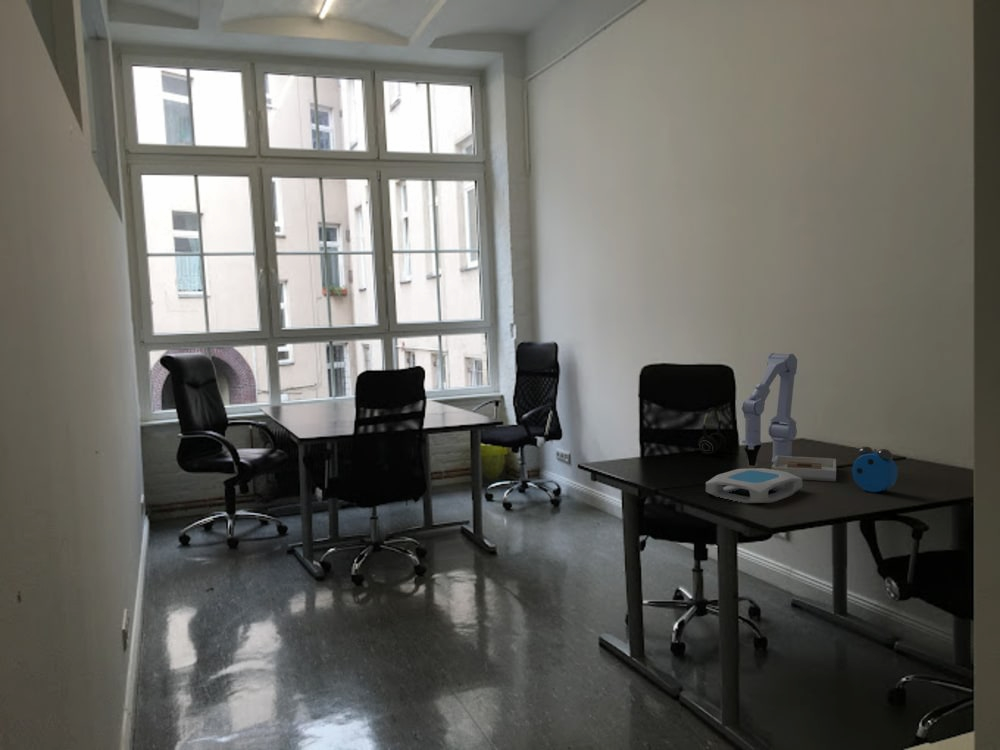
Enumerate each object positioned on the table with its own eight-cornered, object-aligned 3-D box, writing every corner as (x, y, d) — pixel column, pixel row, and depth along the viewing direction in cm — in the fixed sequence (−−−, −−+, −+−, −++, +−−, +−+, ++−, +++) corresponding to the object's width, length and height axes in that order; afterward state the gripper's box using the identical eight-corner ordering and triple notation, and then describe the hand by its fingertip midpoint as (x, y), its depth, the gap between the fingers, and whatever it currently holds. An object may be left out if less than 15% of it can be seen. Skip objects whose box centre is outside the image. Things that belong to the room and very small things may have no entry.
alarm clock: (897, 493, 266) (899, 449, 264) (889, 496, 262) (890, 451, 260) (860, 486, 276) (861, 444, 275) (851, 489, 272) (851, 446, 271)
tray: (775, 465, 312) (775, 455, 312) (835, 468, 304) (835, 458, 303) (771, 477, 292) (771, 466, 292) (835, 481, 284) (836, 470, 283)
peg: (748, 467, 310) (748, 449, 310) (757, 467, 309) (757, 450, 308) (747, 469, 307) (747, 451, 306) (757, 469, 306) (757, 452, 305)
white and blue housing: (803, 491, 271) (803, 474, 271) (760, 507, 253) (760, 488, 252) (748, 482, 287) (748, 465, 286) (704, 496, 269) (704, 478, 268)
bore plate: (788, 466, 306) (788, 461, 306) (821, 468, 301) (821, 463, 301) (786, 472, 295) (786, 467, 295) (821, 474, 290) (821, 469, 290)
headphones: (694, 455, 337) (694, 408, 335) (711, 449, 348) (711, 404, 346) (713, 457, 331) (713, 410, 329) (729, 451, 342) (729, 406, 340)
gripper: (744, 426, 315) (743, 460, 316) (740, 432, 302) (740, 467, 303) (762, 427, 312) (762, 461, 313) (759, 433, 299) (759, 468, 300)
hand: (752, 464), depth 308 cm, fingers closed on peg, 4 cm apart
